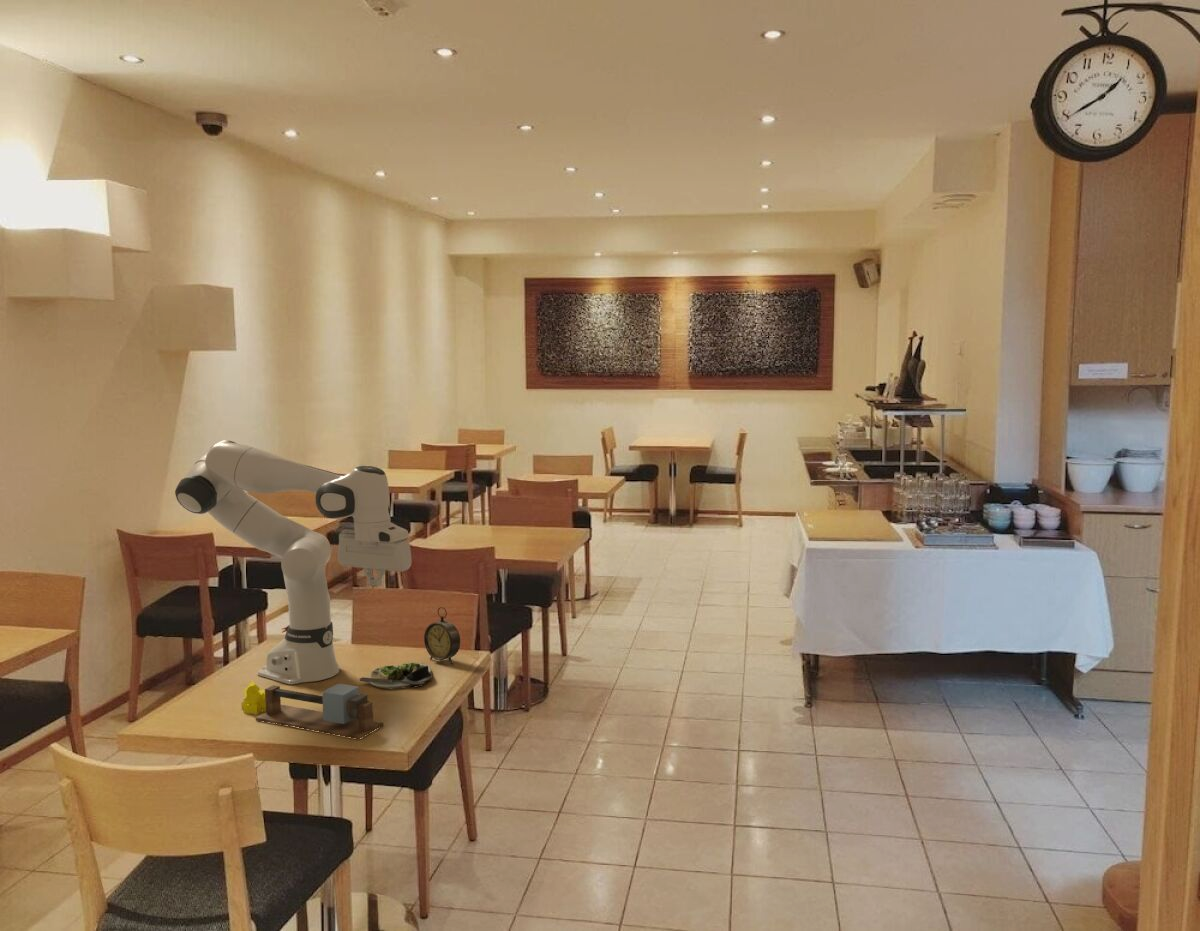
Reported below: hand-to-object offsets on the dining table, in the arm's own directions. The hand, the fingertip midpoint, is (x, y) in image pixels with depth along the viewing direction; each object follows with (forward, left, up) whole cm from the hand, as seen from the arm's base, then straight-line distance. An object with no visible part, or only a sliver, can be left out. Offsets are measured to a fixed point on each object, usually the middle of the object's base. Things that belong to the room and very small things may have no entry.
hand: (375, 585), depth 234 cm
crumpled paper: (-27, -14, -32) cm, 44 cm away
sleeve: (0, -15, -29) cm, 32 cm away
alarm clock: (-3, +35, -31) cm, 47 cm away
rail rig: (-7, -15, -31) cm, 35 cm away
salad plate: (-6, +18, -32) cm, 37 cm away
